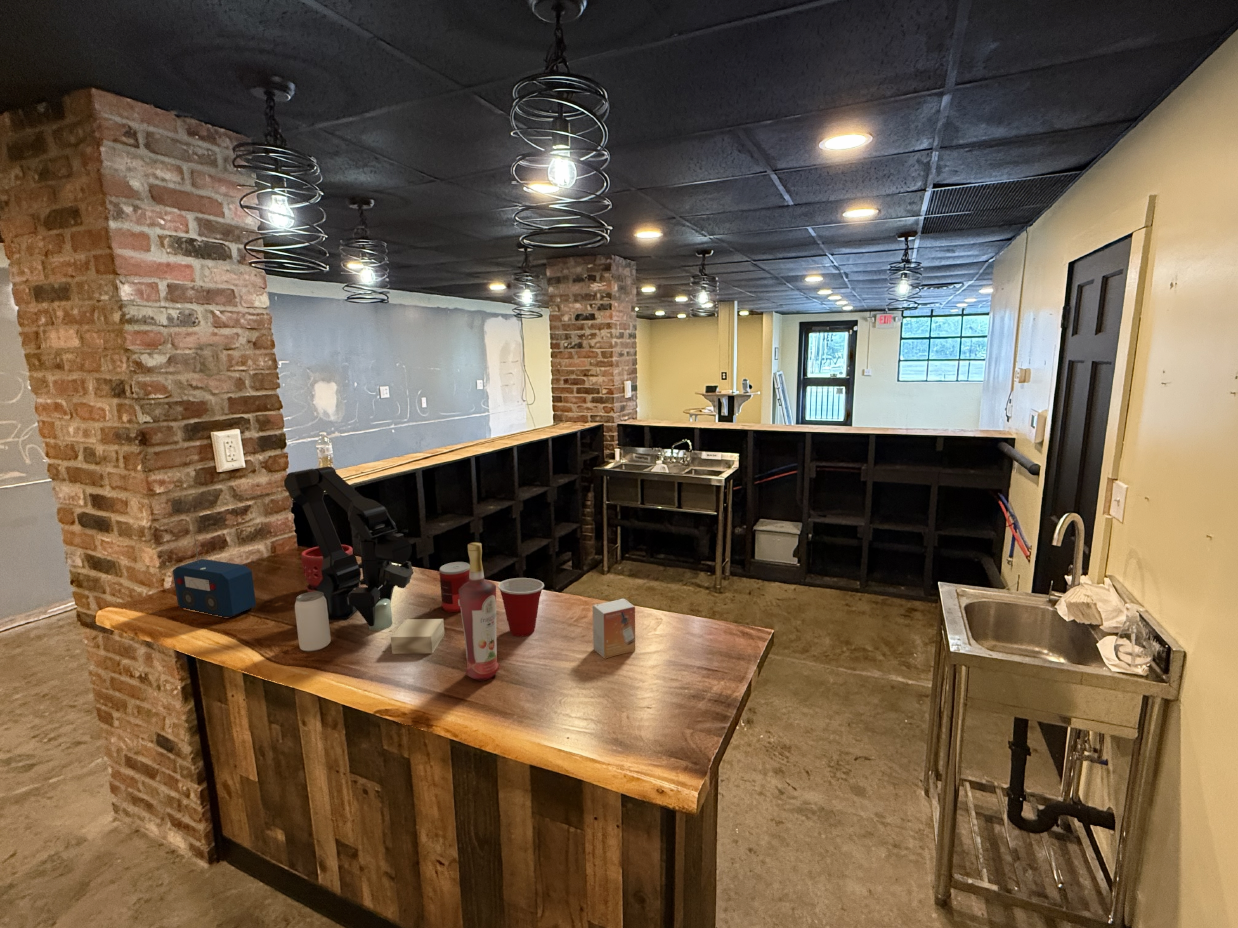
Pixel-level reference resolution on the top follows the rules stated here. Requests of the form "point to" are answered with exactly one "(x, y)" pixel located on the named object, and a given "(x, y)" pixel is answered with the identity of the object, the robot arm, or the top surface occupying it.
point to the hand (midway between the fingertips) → (379, 617)
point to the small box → (614, 628)
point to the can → (312, 621)
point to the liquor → (479, 619)
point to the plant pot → (315, 566)
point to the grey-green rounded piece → (382, 615)
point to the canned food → (453, 584)
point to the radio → (214, 587)
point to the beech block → (417, 636)
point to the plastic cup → (521, 603)
